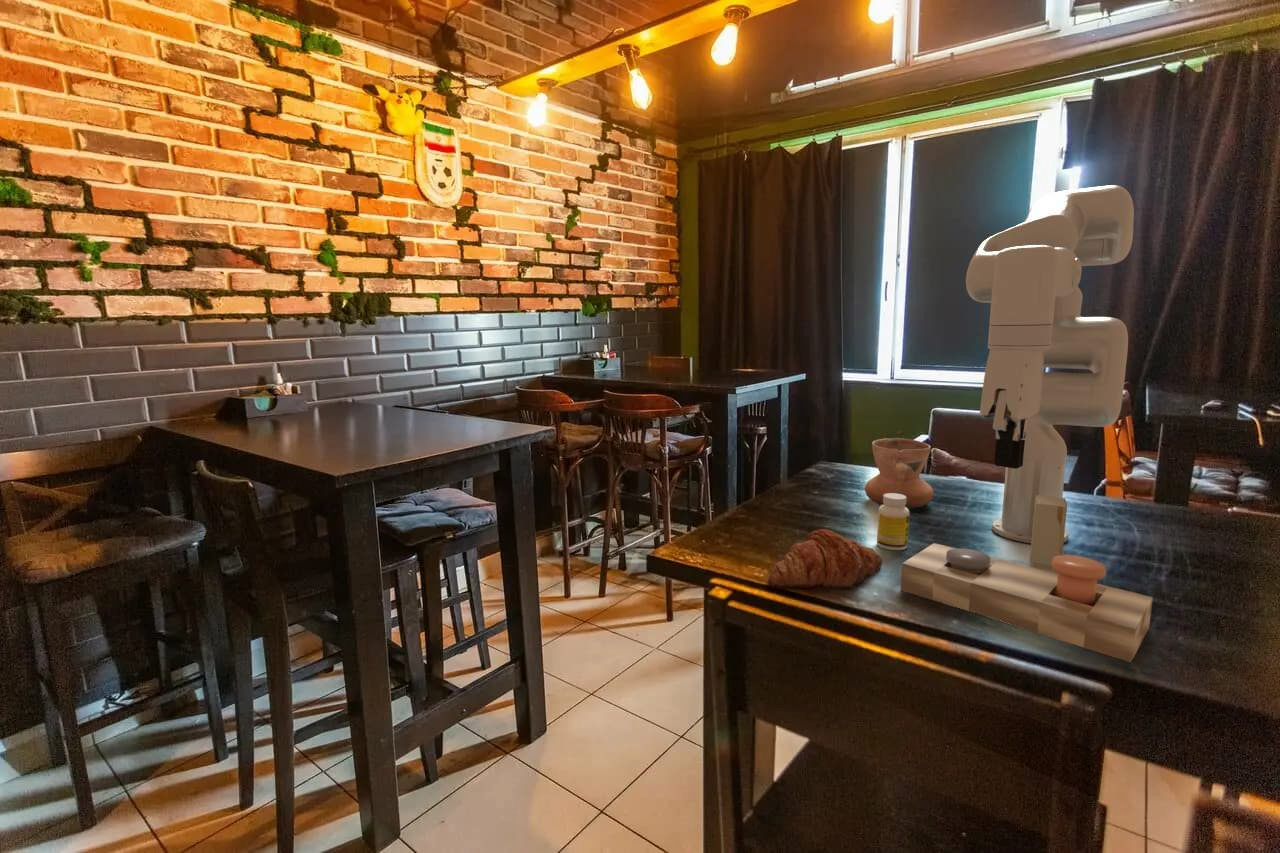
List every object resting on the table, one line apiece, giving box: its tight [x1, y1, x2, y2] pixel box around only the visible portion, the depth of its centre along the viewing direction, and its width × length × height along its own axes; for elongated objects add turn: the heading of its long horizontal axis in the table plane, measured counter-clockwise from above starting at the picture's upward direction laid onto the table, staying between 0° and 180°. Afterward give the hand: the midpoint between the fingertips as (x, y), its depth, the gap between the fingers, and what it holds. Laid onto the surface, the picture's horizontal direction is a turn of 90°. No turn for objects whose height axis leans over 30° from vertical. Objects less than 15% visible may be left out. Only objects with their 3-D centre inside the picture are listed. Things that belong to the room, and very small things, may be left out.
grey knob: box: [946, 547, 991, 576], centre depth 95 cm, size 6×6×6 cm
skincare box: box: [1028, 495, 1068, 574], centre depth 102 cm, size 6×4×12 cm
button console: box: [900, 542, 1154, 663], centre depth 90 cm, size 12×29×4 cm, turn 42°
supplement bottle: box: [876, 493, 911, 551], centre depth 114 cm, size 5×5×10 cm
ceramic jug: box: [864, 437, 935, 510], centre depth 139 cm, size 18×14×14 cm
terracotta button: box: [1052, 554, 1107, 607], centre depth 84 cm, size 6×6×6 cm
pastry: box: [768, 528, 883, 590], centre depth 102 cm, size 17×15×8 cm
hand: (1008, 465), depth 88 cm, fingers closed
